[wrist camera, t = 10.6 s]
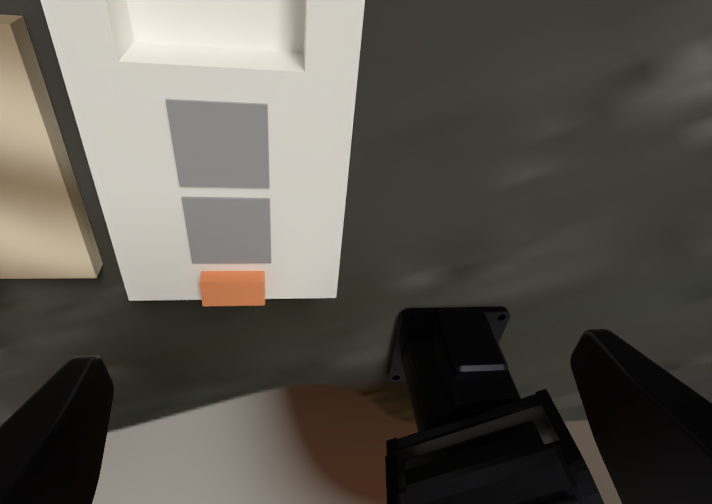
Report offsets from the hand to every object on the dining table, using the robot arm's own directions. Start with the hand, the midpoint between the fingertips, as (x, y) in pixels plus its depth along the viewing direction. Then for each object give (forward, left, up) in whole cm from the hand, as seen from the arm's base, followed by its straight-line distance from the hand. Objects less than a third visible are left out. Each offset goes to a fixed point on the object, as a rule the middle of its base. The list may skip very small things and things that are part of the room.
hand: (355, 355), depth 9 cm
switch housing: (+1, +4, -13) cm, 13 cm away
